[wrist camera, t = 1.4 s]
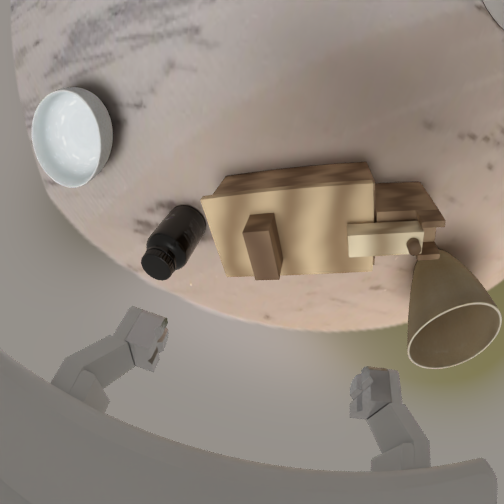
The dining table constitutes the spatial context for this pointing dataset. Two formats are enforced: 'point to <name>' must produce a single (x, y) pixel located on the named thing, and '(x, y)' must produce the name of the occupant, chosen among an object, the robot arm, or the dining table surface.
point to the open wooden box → (385, 194)
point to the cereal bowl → (72, 136)
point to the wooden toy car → (385, 238)
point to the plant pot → (448, 314)
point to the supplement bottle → (173, 242)
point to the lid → (289, 228)
